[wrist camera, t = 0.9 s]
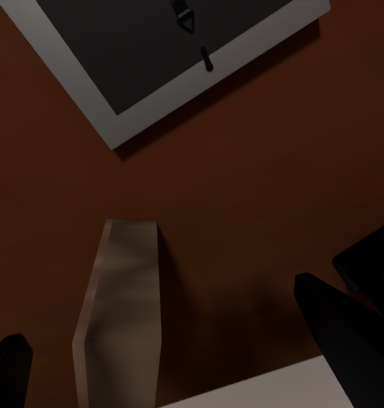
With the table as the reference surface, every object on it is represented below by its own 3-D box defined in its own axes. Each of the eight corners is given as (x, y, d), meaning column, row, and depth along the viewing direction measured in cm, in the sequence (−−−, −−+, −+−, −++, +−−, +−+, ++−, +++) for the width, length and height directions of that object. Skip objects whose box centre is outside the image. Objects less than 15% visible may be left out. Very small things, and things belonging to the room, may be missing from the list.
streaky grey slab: (156, 221, 23) (161, 340, 13) (151, 285, 26) (152, 419, 16) (106, 219, 22) (72, 344, 12) (107, 285, 25) (80, 426, 15)
